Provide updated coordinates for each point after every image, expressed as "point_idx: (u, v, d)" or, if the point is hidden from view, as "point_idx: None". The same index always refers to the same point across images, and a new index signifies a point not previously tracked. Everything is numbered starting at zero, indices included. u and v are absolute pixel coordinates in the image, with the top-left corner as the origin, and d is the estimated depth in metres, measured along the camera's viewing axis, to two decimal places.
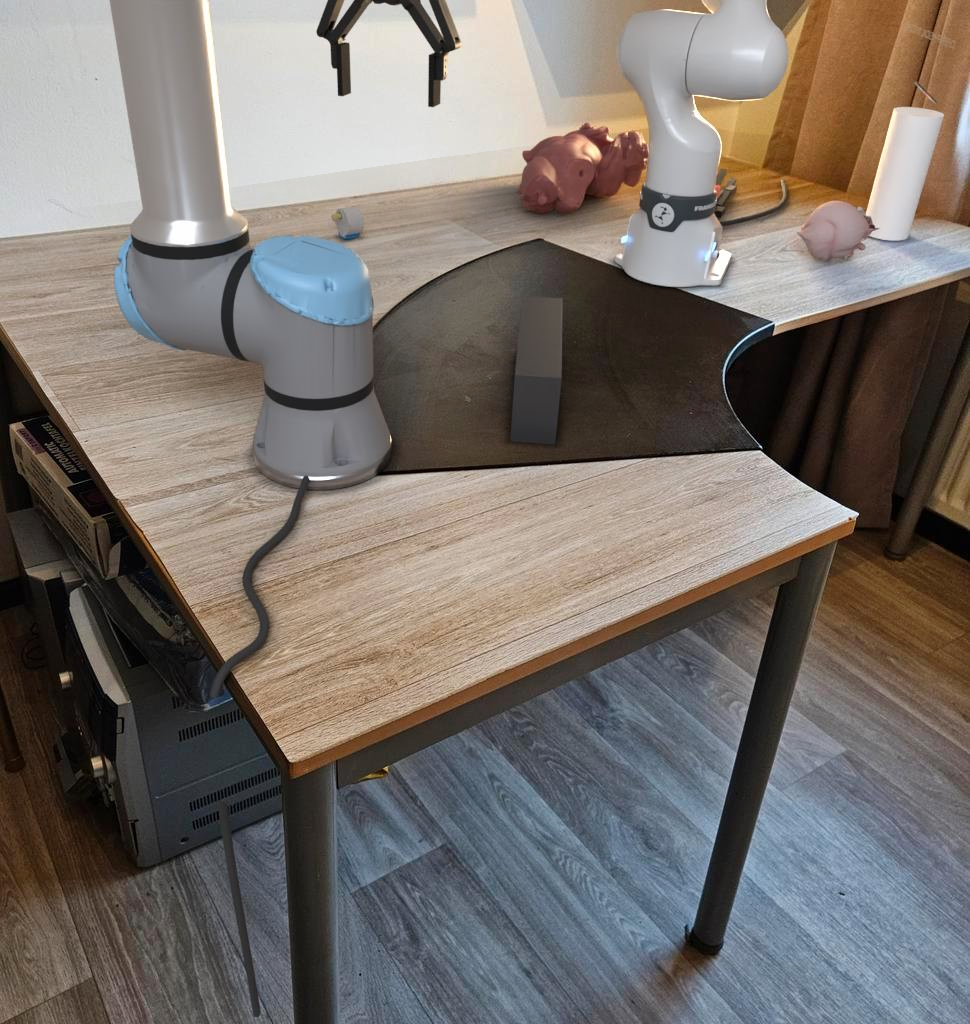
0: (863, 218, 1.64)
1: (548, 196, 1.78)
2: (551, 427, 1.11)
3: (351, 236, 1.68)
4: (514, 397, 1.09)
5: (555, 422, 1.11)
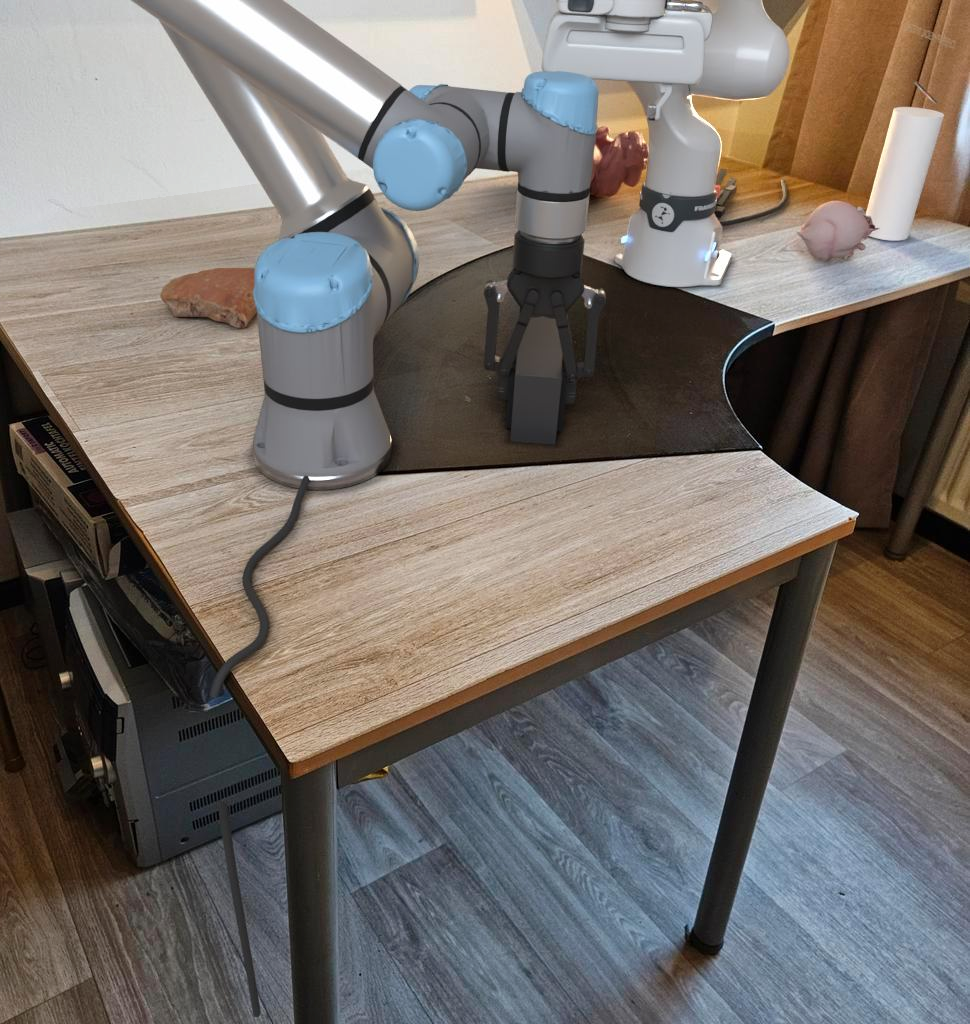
0: (863, 218, 1.64)
1: None
2: (551, 427, 1.11)
3: None
4: (514, 397, 1.09)
5: (555, 422, 1.11)
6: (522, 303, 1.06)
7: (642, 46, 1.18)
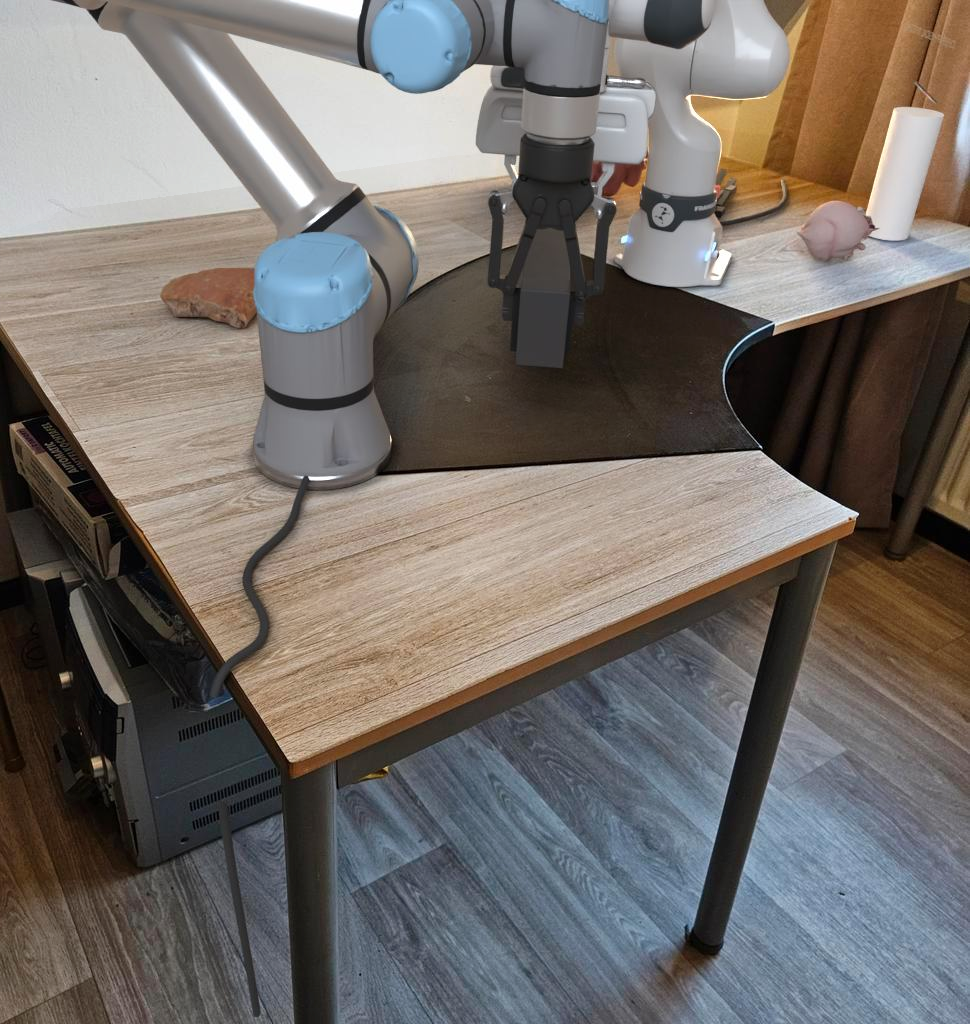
0: (863, 218, 1.64)
1: None
2: (558, 348, 1.05)
3: None
4: (520, 315, 1.04)
5: (563, 343, 1.05)
6: (528, 213, 1.00)
7: None
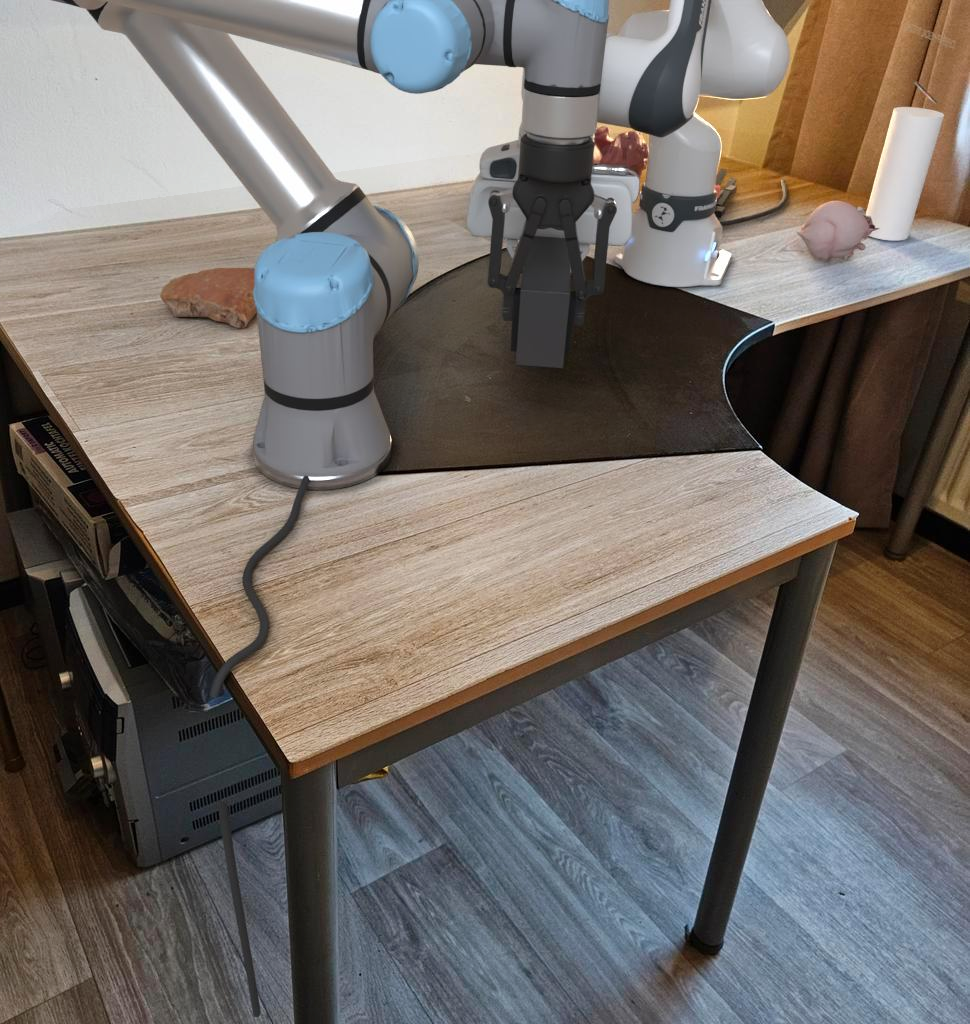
0: (863, 218, 1.64)
1: None
2: (559, 348, 1.05)
3: None
4: (520, 315, 1.04)
5: (563, 343, 1.05)
6: (528, 213, 1.00)
7: None
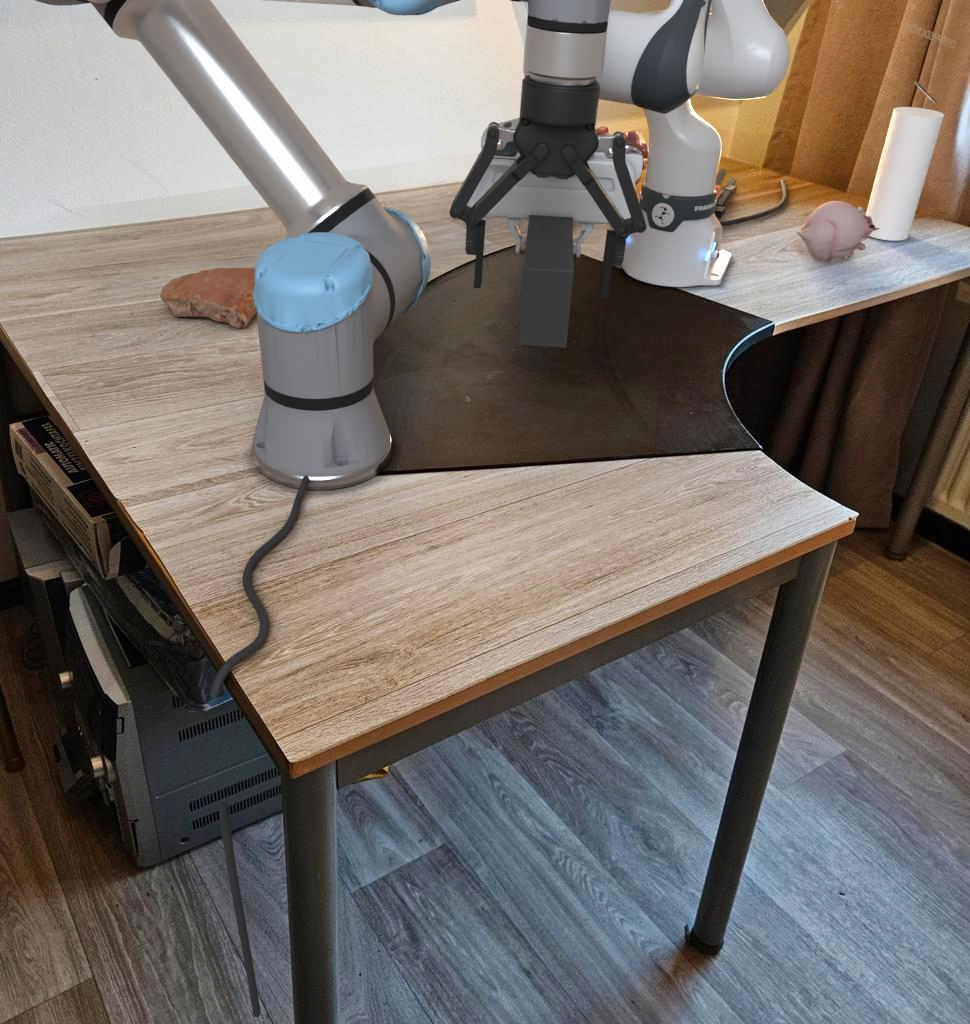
0: (863, 218, 1.64)
1: None
2: (562, 328, 1.04)
3: None
4: (523, 294, 1.02)
5: (566, 322, 1.04)
6: (526, 154, 0.95)
7: (571, 188, 1.14)
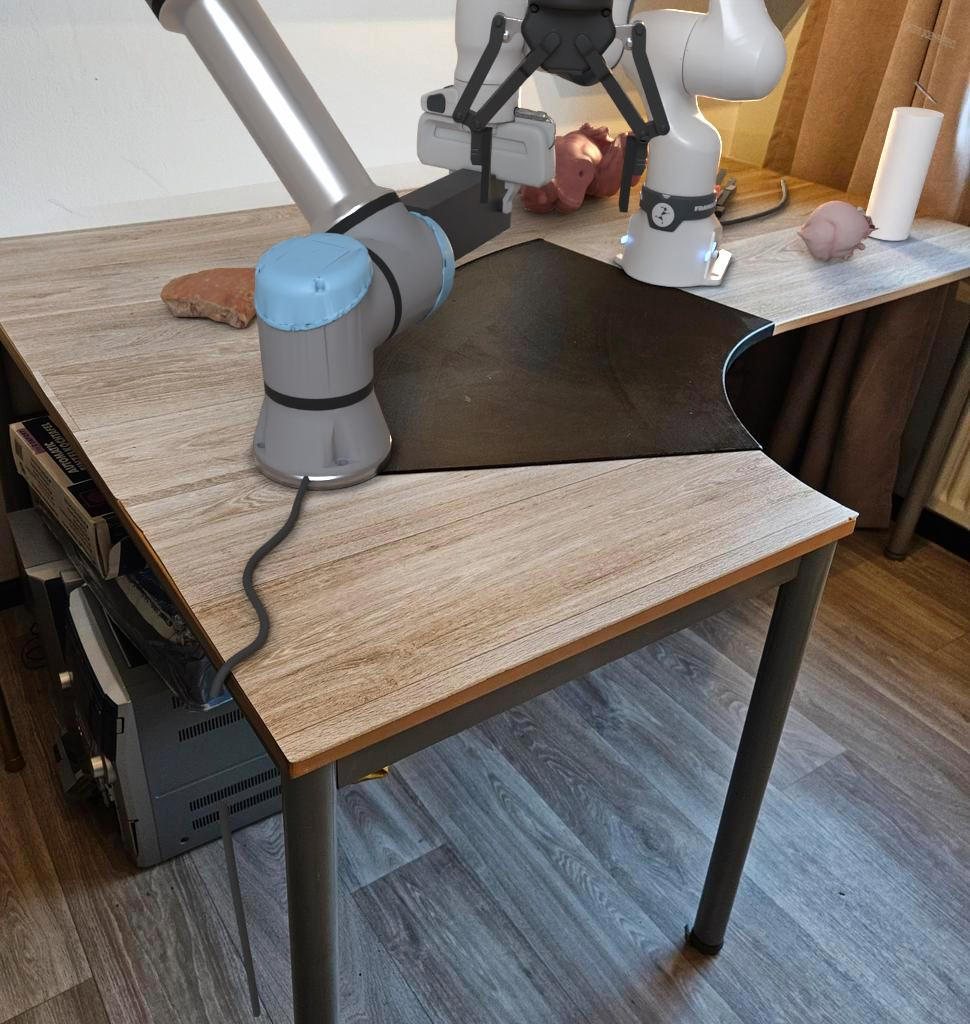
0: (863, 218, 1.64)
1: (548, 196, 1.78)
2: None
3: None
4: None
5: None
6: (535, 46, 0.86)
7: (493, 147, 1.28)
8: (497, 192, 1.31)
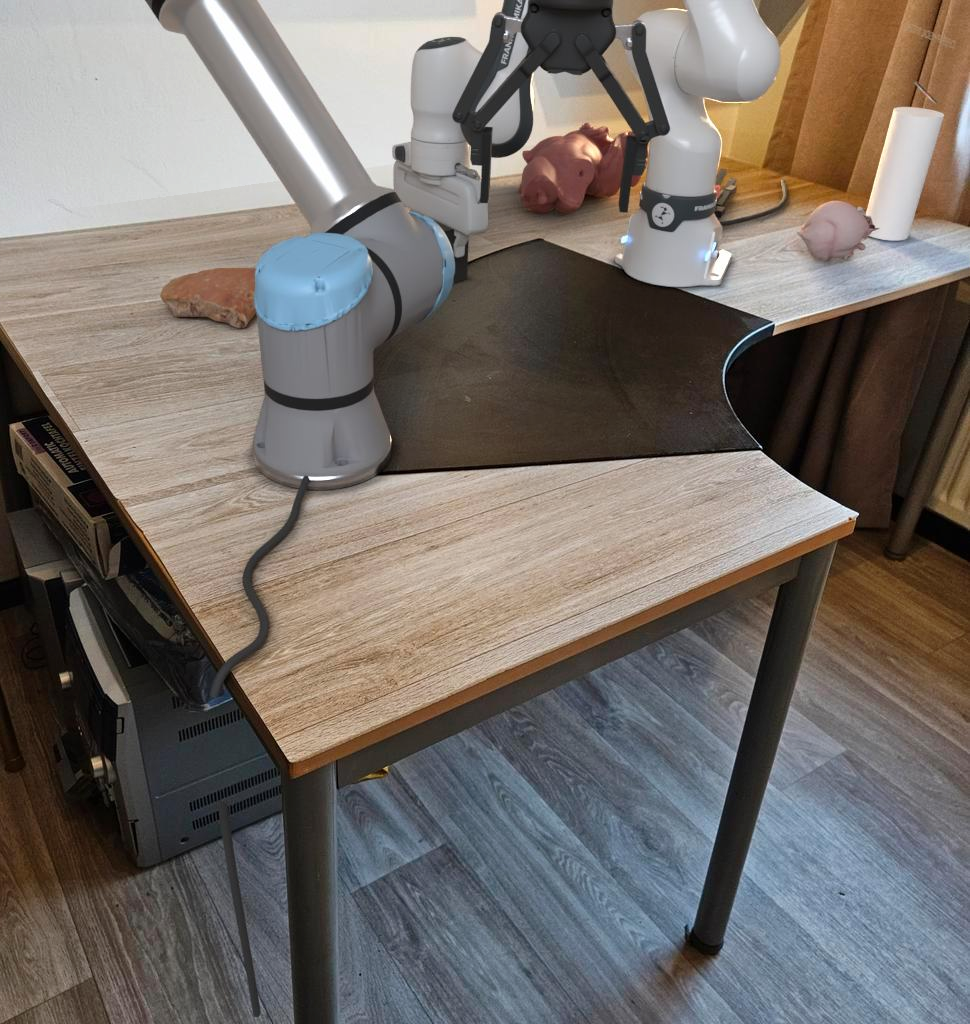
0: (863, 218, 1.64)
1: (548, 196, 1.78)
2: None
3: None
4: None
5: None
6: (535, 46, 0.86)
7: (440, 196, 1.45)
8: None
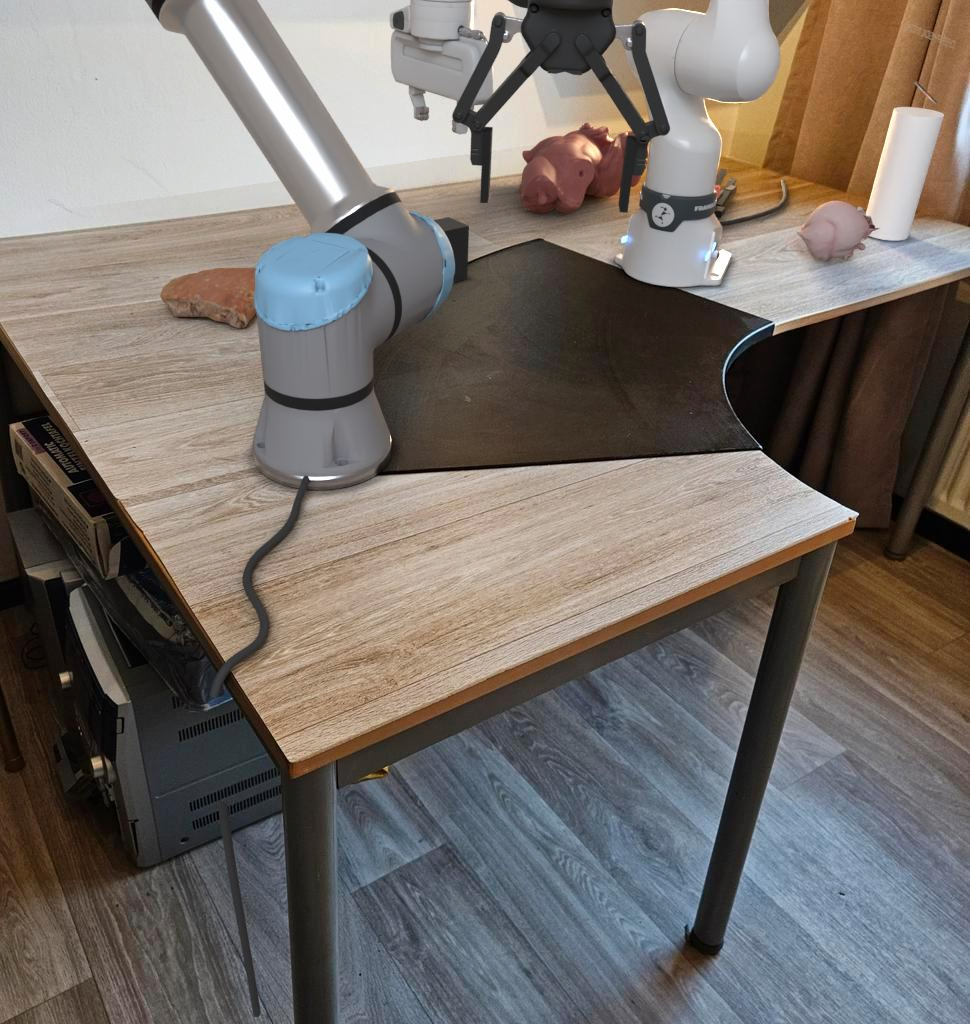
0: (863, 218, 1.64)
1: (548, 196, 1.78)
2: None
3: None
4: None
5: None
6: (535, 46, 0.86)
7: (441, 65, 1.34)
8: None
